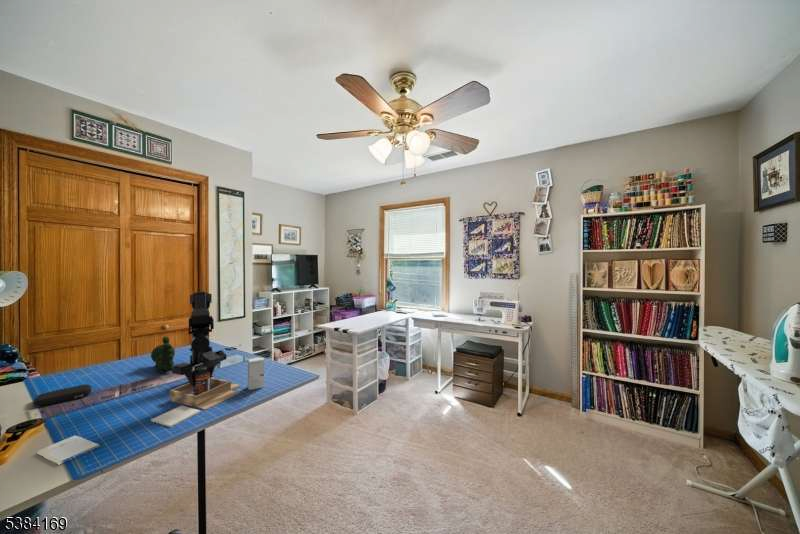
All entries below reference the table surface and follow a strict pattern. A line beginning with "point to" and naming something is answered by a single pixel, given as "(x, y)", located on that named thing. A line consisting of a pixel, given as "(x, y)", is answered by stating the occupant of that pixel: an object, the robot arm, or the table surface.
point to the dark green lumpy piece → (163, 356)
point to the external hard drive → (71, 447)
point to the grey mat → (175, 416)
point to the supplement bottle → (201, 381)
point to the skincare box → (255, 373)
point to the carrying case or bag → (62, 395)
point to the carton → (204, 394)
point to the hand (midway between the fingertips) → (201, 383)
